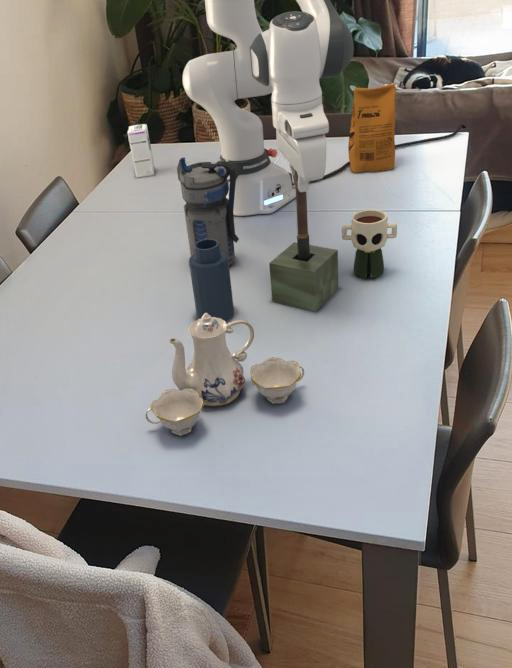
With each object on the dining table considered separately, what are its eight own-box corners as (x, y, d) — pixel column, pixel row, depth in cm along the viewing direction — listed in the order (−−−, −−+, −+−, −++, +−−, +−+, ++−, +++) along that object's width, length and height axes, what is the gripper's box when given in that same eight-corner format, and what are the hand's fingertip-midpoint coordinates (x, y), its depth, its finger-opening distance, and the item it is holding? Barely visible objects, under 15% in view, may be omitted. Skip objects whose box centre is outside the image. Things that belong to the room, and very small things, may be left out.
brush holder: (296, 279, 154) (294, 241, 149) (338, 288, 148) (337, 249, 143) (272, 301, 148) (269, 263, 143) (315, 311, 142) (314, 272, 137)
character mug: (341, 281, 150) (341, 225, 143) (342, 265, 156) (342, 210, 149) (395, 280, 148) (398, 222, 140) (394, 264, 153) (396, 207, 146)
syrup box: (154, 175, 220) (146, 128, 212) (135, 178, 220) (127, 131, 212) (155, 169, 225) (147, 122, 216) (136, 171, 225) (128, 125, 217)
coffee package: (348, 162, 205) (347, 83, 193) (393, 158, 203) (395, 78, 190) (349, 175, 198) (348, 93, 185) (395, 171, 195) (398, 88, 182)
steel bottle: (217, 301, 151) (208, 232, 142) (241, 313, 146) (234, 242, 137) (189, 315, 148) (179, 246, 139) (213, 328, 143) (203, 256, 134)
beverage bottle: (235, 276, 159) (224, 168, 145) (182, 271, 165) (166, 167, 151) (251, 255, 166) (242, 150, 152) (199, 251, 172) (186, 150, 158)
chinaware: (167, 464, 114) (155, 387, 104) (129, 402, 126) (115, 328, 116) (317, 403, 121) (320, 326, 111) (267, 350, 133) (266, 275, 123)
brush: (296, 271, 146) (290, 167, 133) (306, 268, 146) (302, 164, 134) (302, 276, 144) (297, 170, 131) (312, 272, 144) (308, 167, 132)
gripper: (266, 102, 136) (270, 172, 143) (295, 132, 119) (299, 210, 126) (298, 96, 136) (301, 166, 144) (332, 125, 119) (333, 203, 127)
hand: (300, 187), depth 135 cm, fingers closed on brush, 2 cm apart
